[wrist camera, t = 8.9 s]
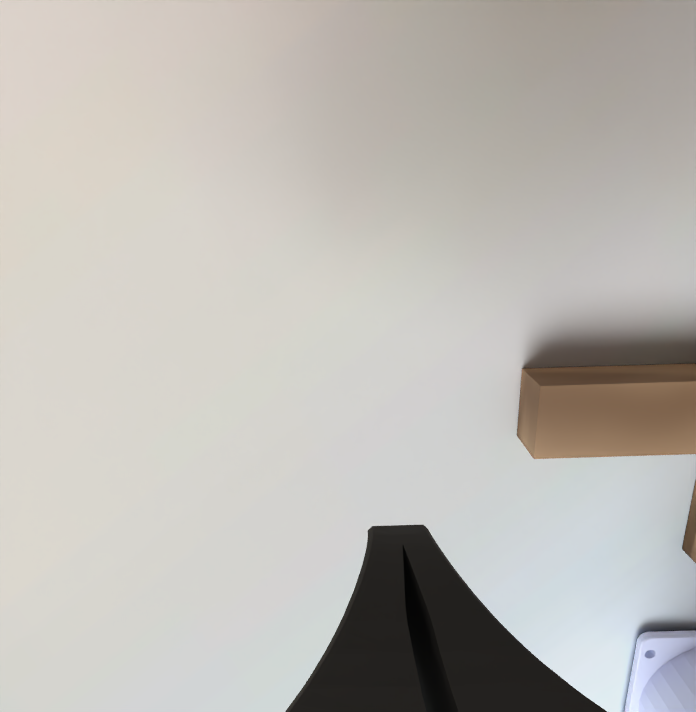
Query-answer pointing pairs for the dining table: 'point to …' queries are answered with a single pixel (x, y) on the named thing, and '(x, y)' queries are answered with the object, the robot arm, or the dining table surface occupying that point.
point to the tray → (611, 415)
